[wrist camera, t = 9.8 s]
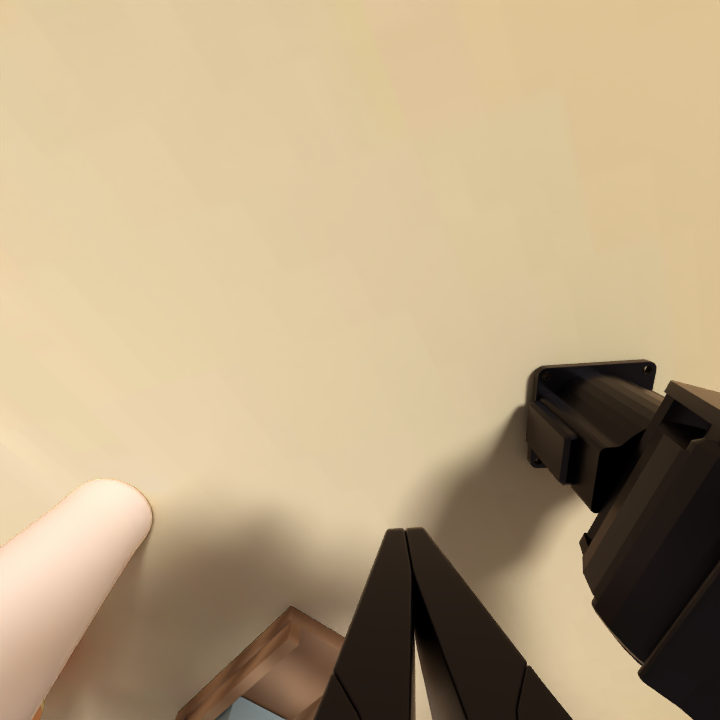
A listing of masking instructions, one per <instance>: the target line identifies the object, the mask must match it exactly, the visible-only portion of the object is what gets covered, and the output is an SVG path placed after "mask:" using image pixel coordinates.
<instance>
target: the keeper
mask: <svg viewBox="0 0 720 720" xmlns="http://www.w3.org/2000/svg"><path fill="white" fill-rule="evenodd" d="M215 720H285V719H283V718H281V717H279V716H278V715H276V714H274V713H272V712H270V711H268V710H266V709H264V708H262V707H260V706H258V705H256V704H254V703H252V702H250V701H248V700H247V699H245V698H243V697H239V698H238V699H237V700H236V701H235V702H234V703H233V704H232V705H230V706H229V707H228V708H227V709H226V710H225V711H224V712H223V713H221V714H220V715H219V716H218V717H217V718H216V719H215Z"/></svg>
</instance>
